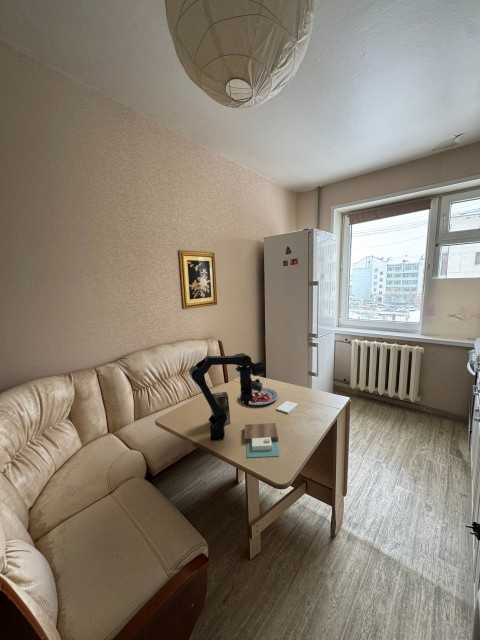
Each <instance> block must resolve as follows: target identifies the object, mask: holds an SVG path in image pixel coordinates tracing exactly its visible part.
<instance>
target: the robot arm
mask: <svg viewBox="0 0 480 640" xmlns="http://www.w3.org/2000/svg"><path fill="white" fill-rule="evenodd" d="M220 365H221V366H223V365H224V366H225V365H235V366H236V367H235V368H234V369H235V371H236V372H238V373H239V385H240V393H239V395H240V398H239V401H240V402H242V401H244V402H243V403H244V405H245V406H246V407H249V405H250V404H249V401H252V400H253V395H252V389H253V390H256V391H258V392H261V389H262V388H263V383H262V382H261V381H260V378H256V379H254V380H252V376H253V377H257V376H261V375H264V374H265V373H266V369H265V366H264V365H263V362H262V361H257V362H253V361H252V358H251V356H249V354H246V353H244V352H239V353H236V354H233V355H206V356H205V357H204V358H203V359H201V360H200V361H198V362H197V363H196V364H195V365H193V366H191V367H190V369H189V371H188V373H189V376H190V377H191V379H192V380H193V382H194V383H195V384H196V385H197V386H198V387H199V389H200V391H201V393H202V394H203V396H204V399H205V400H206V402H207V404H208V406H209V407H210V412H211V415H210V416H209V418H208V421H209V423H210V425H209V431H210V442H211V441H224V439H225V435H226V432H225V425H226V424H225V422H226V420H227V416H226V415H227V413H226V412H225V410H224V408H223V406H222V405H221V404H219V405H218V404H217V402H216V401H215V399H214V397H213V395H212V394H213V393H212V391H211V390H210V388H209V386H208V384H207V380H206V377H205V375H206V373H208V371H209V370H210V368H211V367H212V366H220Z"/></svg>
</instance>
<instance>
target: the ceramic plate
mask: <svg viewBox="0 0 480 640" xmlns="http://www.w3.org/2000/svg"><path fill="white" fill-rule="evenodd" d="M252 395H253V400H252V401H249V405H252V406H253V405H254V406H262V405H267V404H270V403H272V402H275V401H276V400H277V399H278V395H279V394H278V393H277V391H276V390H274V389H272V388H269V387H262V389H261V392H258V391H256V390H253V389H252ZM238 398H239V399H240V394H239V396H238ZM241 402H242V403H244V401H241Z"/></svg>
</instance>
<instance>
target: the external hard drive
mask: <svg viewBox="0 0 480 640" xmlns="http://www.w3.org/2000/svg"><path fill="white" fill-rule="evenodd" d="M298 406H299V403H295V402H293V401H289V400H286V401H284V402H283V403H282V404H281V405H279V406H278V407H276V408H275V410H276V411H277V412H281V413H284V414H288V415H289V414H291V412H293V410H294V409H296V408H297V407H298Z"/></svg>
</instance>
